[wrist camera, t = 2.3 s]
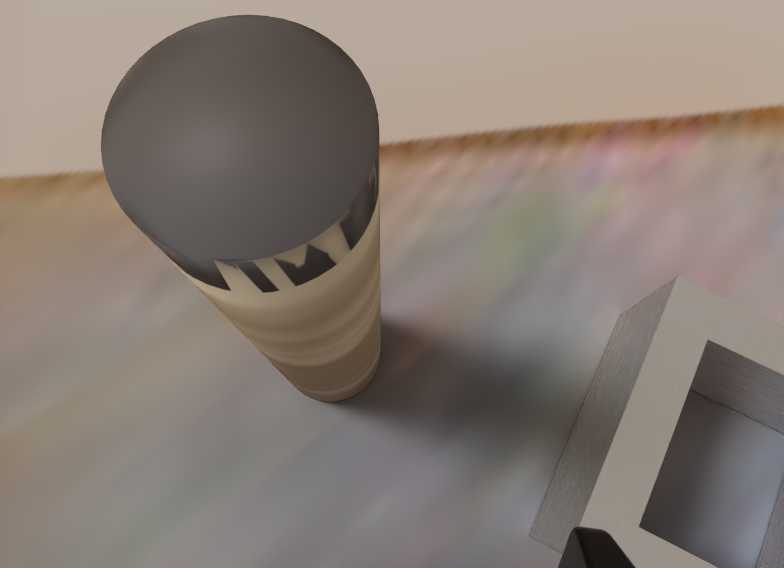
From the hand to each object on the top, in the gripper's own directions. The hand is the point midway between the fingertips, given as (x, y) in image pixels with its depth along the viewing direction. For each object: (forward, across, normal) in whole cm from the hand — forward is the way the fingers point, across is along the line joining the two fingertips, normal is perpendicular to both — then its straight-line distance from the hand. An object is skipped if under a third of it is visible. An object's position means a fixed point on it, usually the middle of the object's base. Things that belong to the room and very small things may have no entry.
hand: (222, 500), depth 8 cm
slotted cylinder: (+10, 0, +5) cm, 11 cm away
